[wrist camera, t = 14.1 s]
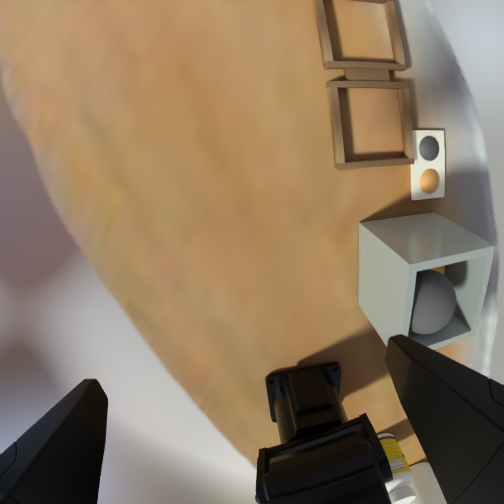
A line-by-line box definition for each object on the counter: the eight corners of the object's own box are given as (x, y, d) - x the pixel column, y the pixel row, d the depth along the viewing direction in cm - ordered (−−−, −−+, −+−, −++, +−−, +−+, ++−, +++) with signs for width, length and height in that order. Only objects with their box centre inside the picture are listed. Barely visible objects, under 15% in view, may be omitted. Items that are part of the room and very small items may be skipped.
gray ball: (456, 319, 18) (430, 357, 16) (411, 295, 21) (380, 328, 19) (471, 272, 16) (446, 310, 14) (418, 249, 19) (387, 280, 17)
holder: (408, 162, 20) (414, 164, 19) (335, 168, 20) (339, 170, 19) (387, 0, 15) (392, -4, 14) (310, -7, 15) (313, -12, 14)
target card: (442, 196, 21) (445, 197, 21) (410, 199, 21) (413, 200, 20) (441, 130, 19) (444, 130, 19) (409, 130, 19) (412, 130, 19)
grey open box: (427, 287, 24) (474, 334, 17) (357, 304, 24) (396, 361, 17) (434, 212, 21) (494, 245, 15) (358, 222, 21) (409, 264, 15)
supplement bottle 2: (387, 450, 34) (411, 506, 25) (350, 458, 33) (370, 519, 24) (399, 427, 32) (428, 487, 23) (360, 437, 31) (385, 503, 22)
